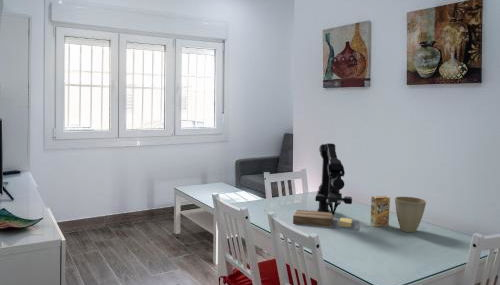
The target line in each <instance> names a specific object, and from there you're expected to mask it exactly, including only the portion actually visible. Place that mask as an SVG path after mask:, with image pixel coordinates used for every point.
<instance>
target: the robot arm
mask: <svg viewBox="0 0 500 285" xmlns="http://www.w3.org/2000/svg"><path fill="white" fill-rule="evenodd" d="M318 150H319V154H320V157H321V158H322V165H321V169H322V170H321V183H320V185H319V187H318V189H317V192H316V195H315V197H314V198H315V199H314V200H315V202H318V209H317V211H318V212H330V213H332V215H334V216H335V213H336V211H337V208H338V206H340V205H341V203H344V204H346V205H352V203H353V197H352V196H344V197H343V196H342V195H343V193H341V191H340V190H342V189H343V188H344V187H345V181H344V180H343V178H342V177H345V167H344V165H343V164H342V161H341V160H340V159H339V158H338V156H337V150H336V144H335V143H322V144H320V146H319V149H318Z"/></svg>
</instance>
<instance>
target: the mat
mask: <svg viewBox="0 0 500 285" xmlns="http://www.w3.org/2000/svg"><path fill="white" fill-rule="evenodd" d="M339 221H340V218H339V219H338V218H333V223H332V227H331V228H334V229H342V230H352V231H353V230H354V231H359V229H360V221H358V220H352V224H351V227H346V226H339Z"/></svg>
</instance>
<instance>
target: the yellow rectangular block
mask: <svg viewBox="0 0 500 285" xmlns="http://www.w3.org/2000/svg"><path fill="white" fill-rule="evenodd" d="M339 219H340V221H339V226H346V227H351V224H352V221H353V219H352V218H347V217H340V218H339Z"/></svg>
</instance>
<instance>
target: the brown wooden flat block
mask: <svg viewBox="0 0 500 285" xmlns="http://www.w3.org/2000/svg"><path fill="white" fill-rule="evenodd" d="M292 216H293V217H292V224H297V225H308V226H315V227H316V226H319V227H328V228H332V227H333V223H334V218H335V214H334V215H332V213H331V211H329V212H321V211H318V210H316V211H314V210H305V209H296V211H295V212H294V214H293V215H292Z"/></svg>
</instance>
